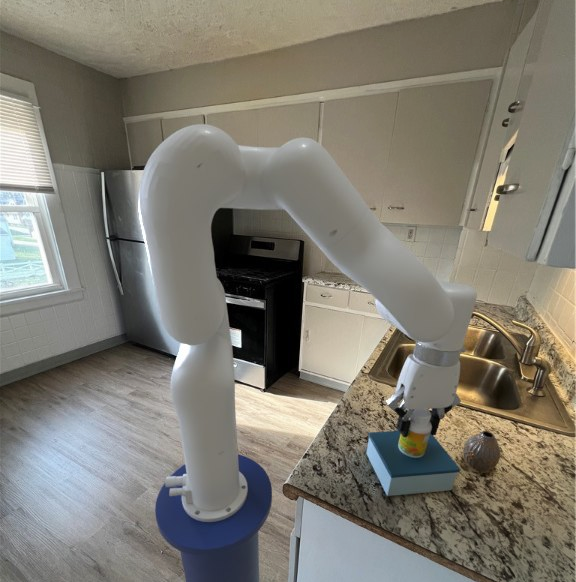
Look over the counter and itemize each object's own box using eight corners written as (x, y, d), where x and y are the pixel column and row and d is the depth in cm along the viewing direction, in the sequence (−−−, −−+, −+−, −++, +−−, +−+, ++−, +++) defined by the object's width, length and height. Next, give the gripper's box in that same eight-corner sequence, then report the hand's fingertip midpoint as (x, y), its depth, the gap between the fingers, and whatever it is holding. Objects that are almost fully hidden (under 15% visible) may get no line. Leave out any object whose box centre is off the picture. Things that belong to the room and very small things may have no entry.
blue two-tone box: (386, 497, 62) (391, 475, 60) (365, 452, 74) (368, 432, 71) (453, 490, 64) (460, 469, 62) (422, 448, 75) (427, 428, 73)
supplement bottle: (392, 447, 67) (401, 410, 63) (406, 437, 70) (415, 400, 66) (416, 462, 63) (426, 423, 59) (429, 450, 66) (440, 413, 62)
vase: (474, 450, 75) (484, 421, 71) (501, 471, 69) (514, 440, 66) (453, 458, 73) (463, 428, 69) (479, 480, 67) (491, 448, 63)
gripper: (466, 342, 61) (444, 418, 69) (382, 345, 59) (369, 422, 67) (494, 360, 54) (465, 441, 62) (401, 363, 52) (383, 447, 60)
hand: (416, 431), depth 64 cm, fingers closed on supplement bottle, 5 cm apart
